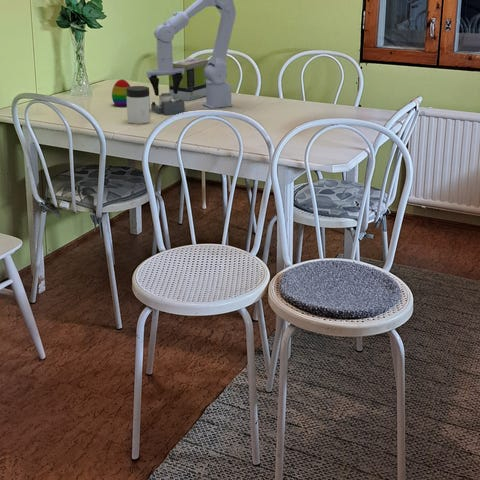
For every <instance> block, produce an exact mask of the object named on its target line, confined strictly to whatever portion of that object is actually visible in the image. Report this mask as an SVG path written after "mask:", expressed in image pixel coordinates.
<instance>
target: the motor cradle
mask: <svg viewBox="0 0 480 480" xmlns="http://www.w3.org/2000/svg"><path fill="white" fill-rule="evenodd" d="M150 111H152V112H155V113H156V114H158V115H161V114H162V115H163V114H164V116H171V114H172V115H178V114H177V113H181V112H186V111H185V101H184V100H178V99H169V101H164V102H162V107H160V106H159V104H156V101H152V102H151V103H150Z"/></svg>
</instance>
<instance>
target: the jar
mask: <svg viewBox="0 0 480 480" xmlns="http://www.w3.org/2000/svg"><path fill="white" fill-rule="evenodd" d="M130 86H131V85H130ZM126 95H127V97H126V98H127V106H126V118H127V119H126V120H127V123H128V124H135V125H140V124H141V125H142V124H148V123H150V121H151V101H150V100H151V99H150V87H148V86H145V85H144V86H143V85H133V86H131V87H127V88H126Z"/></svg>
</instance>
